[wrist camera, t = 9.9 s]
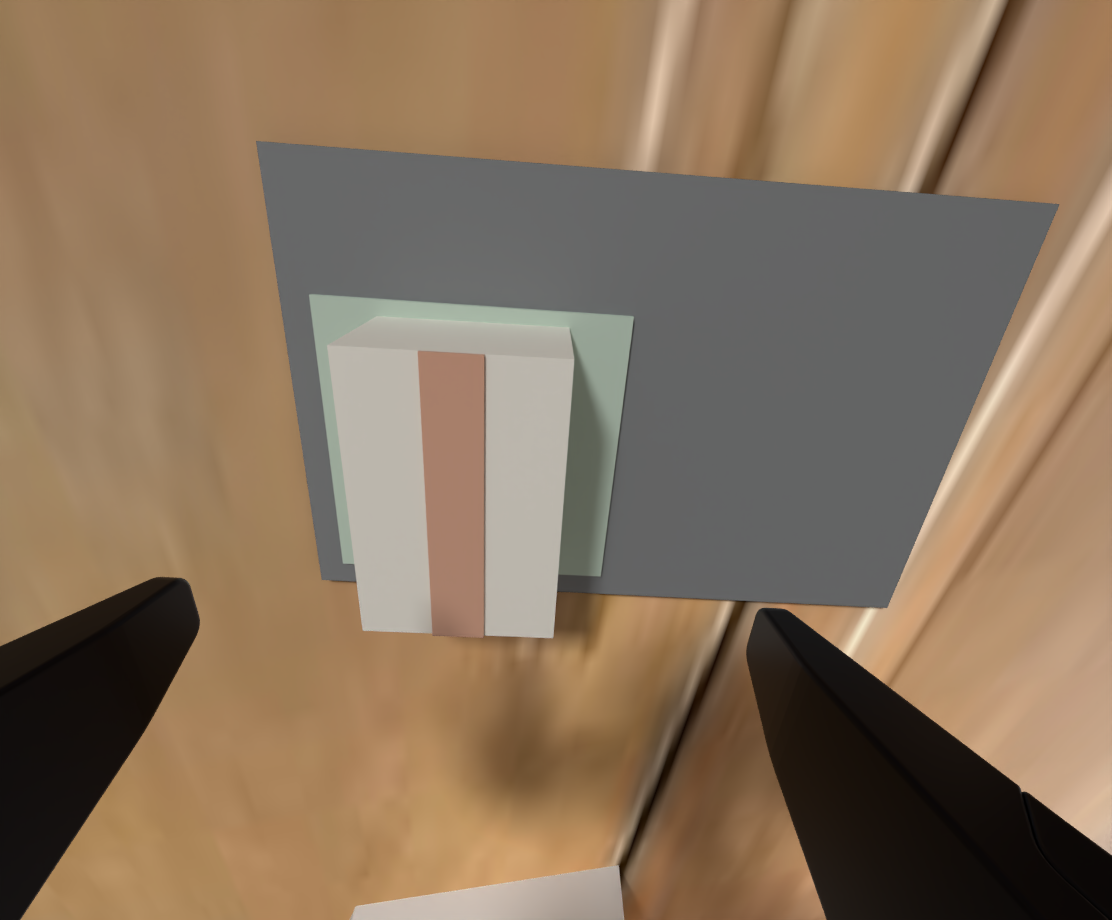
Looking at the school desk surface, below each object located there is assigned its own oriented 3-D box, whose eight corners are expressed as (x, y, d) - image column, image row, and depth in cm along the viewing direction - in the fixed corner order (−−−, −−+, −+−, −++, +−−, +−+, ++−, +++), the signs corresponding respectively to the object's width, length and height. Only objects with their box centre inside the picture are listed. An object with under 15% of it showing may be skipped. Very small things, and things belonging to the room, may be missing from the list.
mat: (1047, 204, 16) (1065, 204, 15) (881, 601, 22) (889, 611, 21) (263, 142, 15) (252, 140, 14) (325, 573, 21) (319, 583, 21)
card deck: (552, 562, 20) (553, 640, 17) (396, 555, 20) (361, 632, 16) (569, 327, 16) (574, 360, 13) (376, 316, 16) (325, 345, 13)
